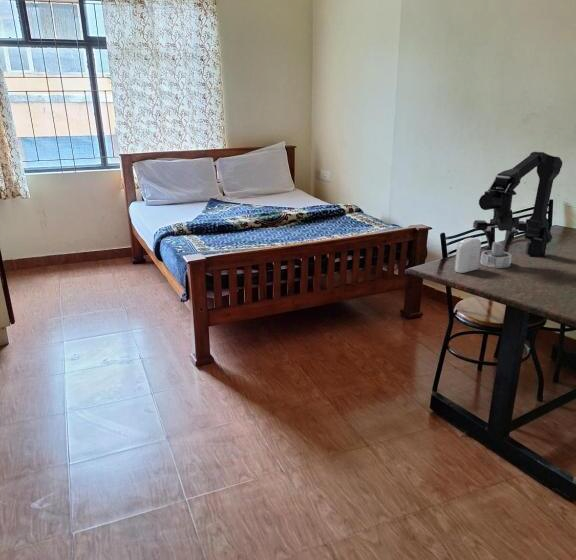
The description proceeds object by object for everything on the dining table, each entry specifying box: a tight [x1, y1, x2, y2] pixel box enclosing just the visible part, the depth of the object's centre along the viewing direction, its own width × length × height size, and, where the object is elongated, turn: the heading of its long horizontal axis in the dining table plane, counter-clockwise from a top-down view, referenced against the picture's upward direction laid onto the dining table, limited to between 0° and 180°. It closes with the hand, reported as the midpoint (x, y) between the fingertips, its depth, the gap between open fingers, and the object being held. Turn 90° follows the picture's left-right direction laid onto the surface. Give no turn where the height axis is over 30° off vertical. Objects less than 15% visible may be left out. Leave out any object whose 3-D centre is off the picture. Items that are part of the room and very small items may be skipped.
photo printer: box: [454, 237, 482, 274], centre depth 185 cm, size 10×4×12 cm, turn 123°
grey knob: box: [487, 241, 506, 257], centre depth 194 cm, size 7×7×6 cm
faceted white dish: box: [479, 249, 513, 269], centre depth 195 cm, size 11×11×4 cm
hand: (497, 247), depth 193 cm, fingers open, 5 cm apart
